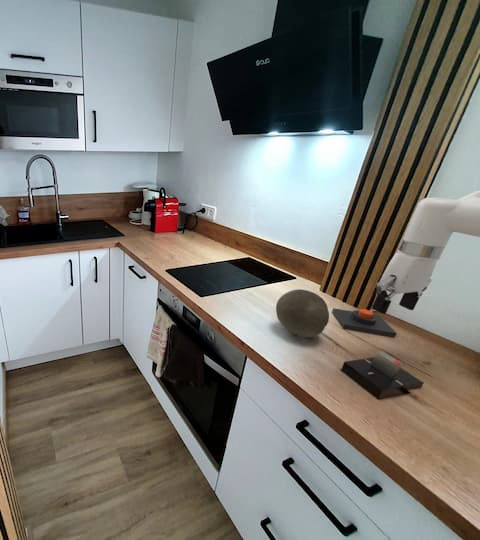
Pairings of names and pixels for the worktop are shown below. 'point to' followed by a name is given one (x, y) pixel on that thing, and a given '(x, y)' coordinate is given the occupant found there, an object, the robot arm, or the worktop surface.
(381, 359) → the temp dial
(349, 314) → the grey flat block
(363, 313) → the kettle button
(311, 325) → the cantaloupe
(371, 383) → the panel
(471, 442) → the worktop surface
